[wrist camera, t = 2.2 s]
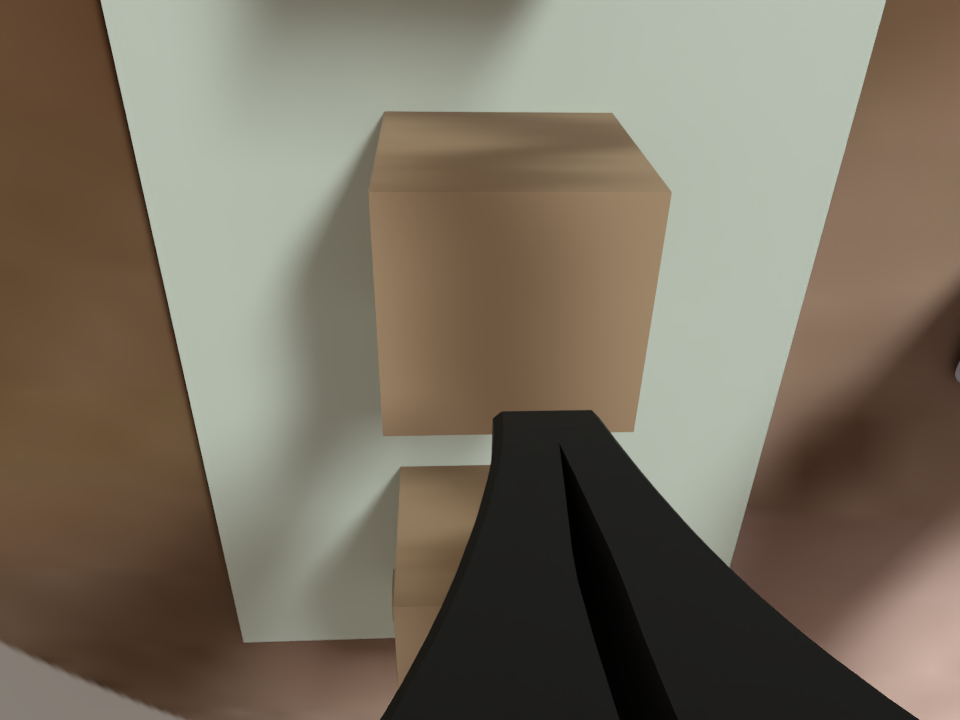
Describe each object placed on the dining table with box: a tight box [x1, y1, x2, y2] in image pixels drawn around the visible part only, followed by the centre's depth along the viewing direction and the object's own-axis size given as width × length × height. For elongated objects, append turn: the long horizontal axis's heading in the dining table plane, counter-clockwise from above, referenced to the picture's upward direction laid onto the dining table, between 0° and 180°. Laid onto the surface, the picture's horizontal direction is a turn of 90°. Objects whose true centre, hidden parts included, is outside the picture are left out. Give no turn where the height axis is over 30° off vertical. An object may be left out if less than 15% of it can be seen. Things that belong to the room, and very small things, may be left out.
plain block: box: [368, 111, 672, 436], centre depth 16 cm, size 5×5×5 cm
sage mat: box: [101, 0, 886, 643], centre depth 18 cm, size 16×30×1 cm, turn 179°
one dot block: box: [392, 465, 490, 689], centre depth 21 cm, size 5×5×5 cm
